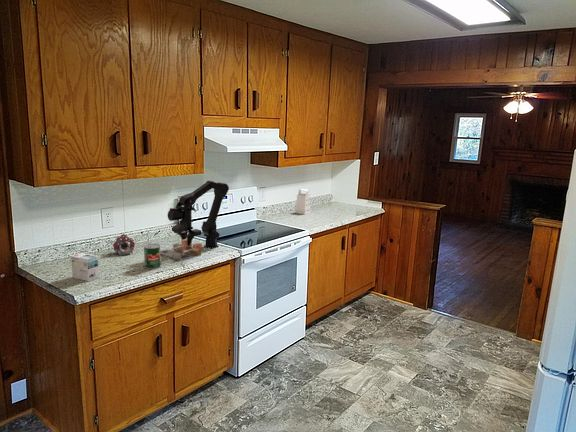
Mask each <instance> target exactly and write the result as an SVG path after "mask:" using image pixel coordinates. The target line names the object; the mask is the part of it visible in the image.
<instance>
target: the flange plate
mask: <svg viewBox="0 0 576 432" xmlns="http://www.w3.org/2000/svg"><path fill="white" fill-rule="evenodd" d="M160 257H165V258H168V259H170V260H174V261H178V262H183V261H185V260H190V259H192V256H191V255H190V254H185V256H183V252H182V253H181V252H179V251H176V250H174V253H172V249H167V248H166V249H163V250H160Z"/></svg>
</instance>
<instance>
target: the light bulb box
mask: <svg viewBox="0 0 576 432" xmlns="http://www.w3.org/2000/svg"><path fill="white" fill-rule="evenodd" d="M70 259H71V260H70V262H71V275H72V278H73V279H77V280H82V281H86V282H91V281H94V280H97V279H98V278H100V276H101V275H100V262H99V261H100V260H99V255H94V254H91V253H84V252H80V253H76V254H72V255H70Z"/></svg>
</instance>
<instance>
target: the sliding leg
mask: <svg viewBox="0 0 576 432" xmlns="http://www.w3.org/2000/svg"><path fill="white" fill-rule="evenodd" d="M181 244H182V245H181V246H177V247H173V246H172V248H171V250H172V253H174V251H175V250H174V249H177V248H180V247H182V253H183V251H184V250H186V247H193V241H192V242H191V244H190V246H188V244H187V239H184V240H182V239H181ZM185 254H187V253H186V252H185Z"/></svg>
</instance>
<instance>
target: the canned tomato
mask: <svg viewBox="0 0 576 432" xmlns="http://www.w3.org/2000/svg"><path fill="white" fill-rule="evenodd" d="M160 251H161V245H160V244H157V243H149V244H145V245H143V253H144V254H143V257H144V260H143V261H144V268H145V269H146V270H157V269H159V268H161V267H162V266H161V263H162V262H161V255H160Z"/></svg>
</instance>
